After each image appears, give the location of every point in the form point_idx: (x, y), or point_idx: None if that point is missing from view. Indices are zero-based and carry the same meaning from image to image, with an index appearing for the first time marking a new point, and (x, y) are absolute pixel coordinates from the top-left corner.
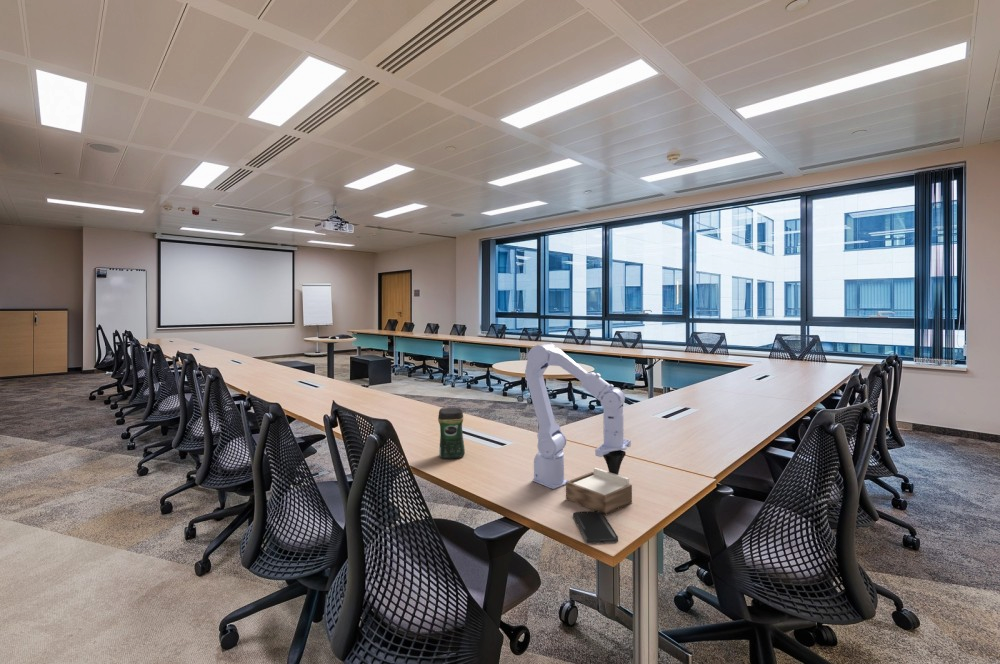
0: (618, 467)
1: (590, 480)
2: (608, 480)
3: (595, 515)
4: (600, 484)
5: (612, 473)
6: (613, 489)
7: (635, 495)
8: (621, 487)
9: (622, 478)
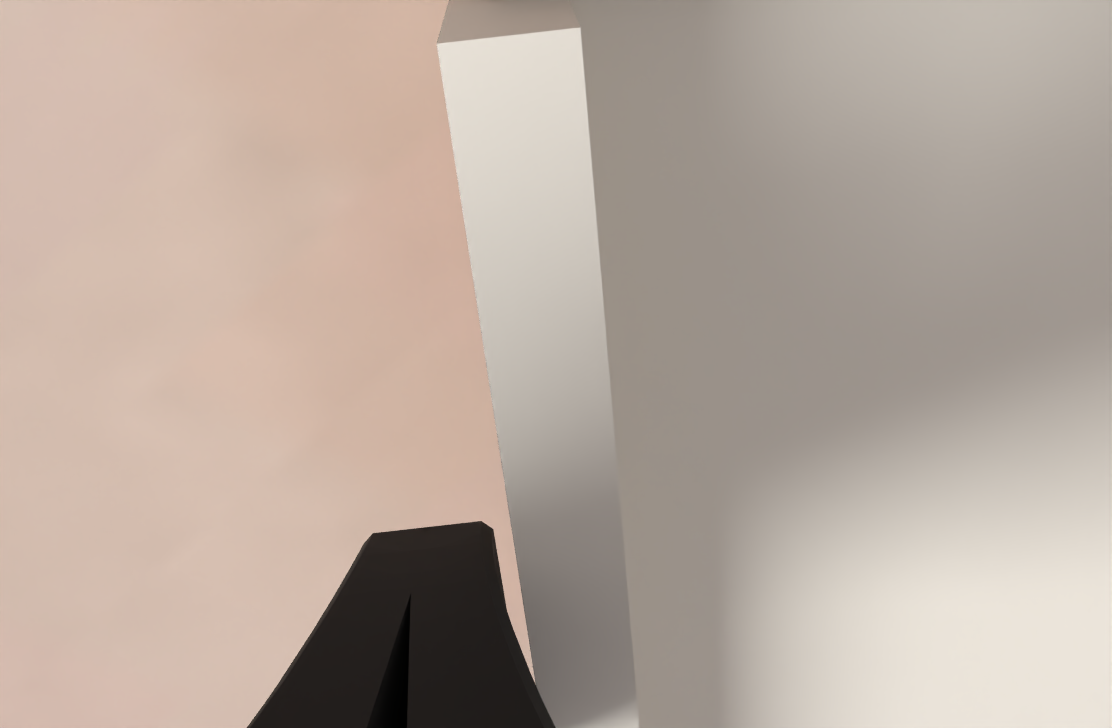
0: (364, 697)
1: (944, 701)
2: (649, 527)
3: None
4: (997, 469)
5: (562, 617)
6: (1081, 60)
7: (140, 57)
8: (790, 15)
9: (594, 221)
